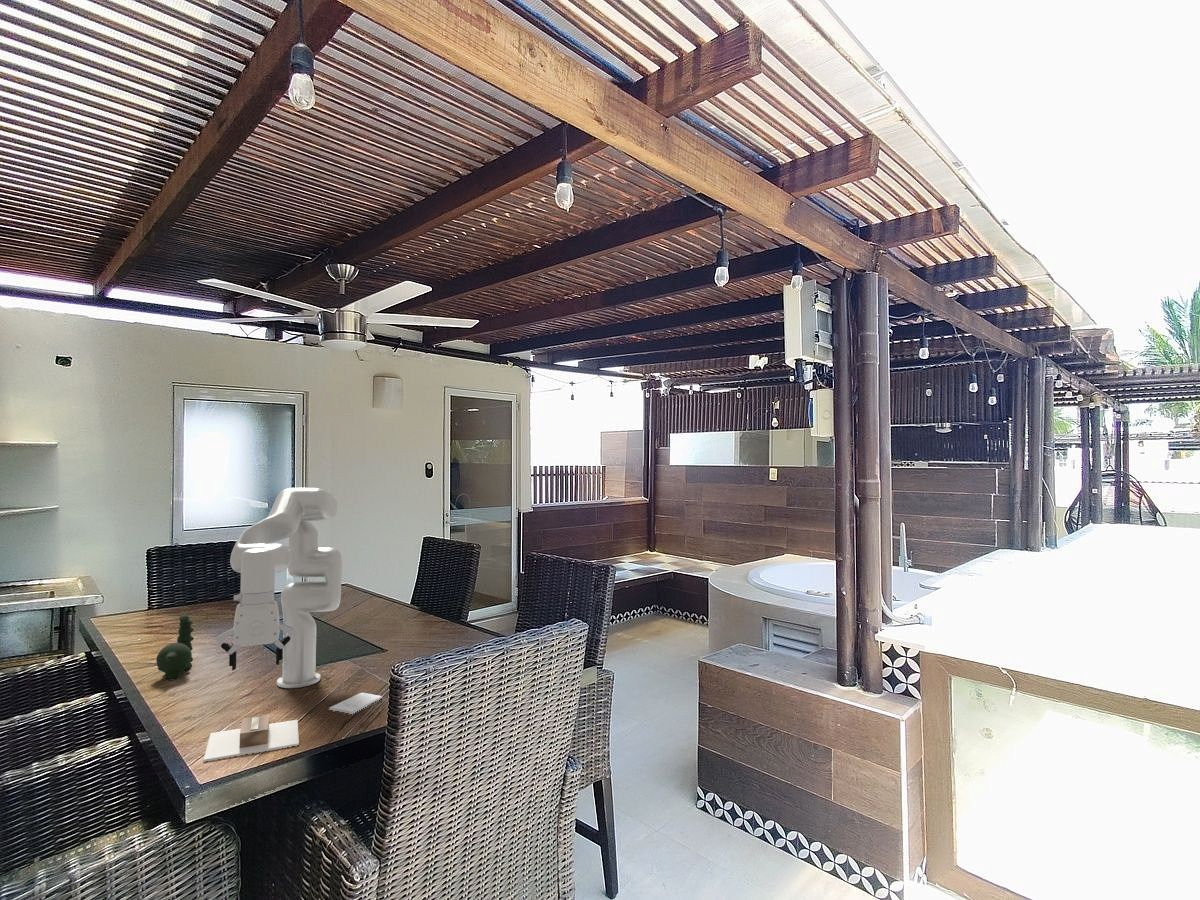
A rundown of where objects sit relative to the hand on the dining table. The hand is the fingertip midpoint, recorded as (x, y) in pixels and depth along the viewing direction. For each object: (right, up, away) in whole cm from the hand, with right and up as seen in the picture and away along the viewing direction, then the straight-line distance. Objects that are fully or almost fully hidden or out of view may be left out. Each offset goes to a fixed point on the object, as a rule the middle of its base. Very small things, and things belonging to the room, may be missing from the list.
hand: (256, 665), depth 158 cm
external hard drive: (+16, -20, +23) cm, 35 cm away
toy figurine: (-53, -20, +49) cm, 75 cm away
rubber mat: (0, -19, -1) cm, 19 cm away
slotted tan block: (0, -18, -1) cm, 18 cm away
